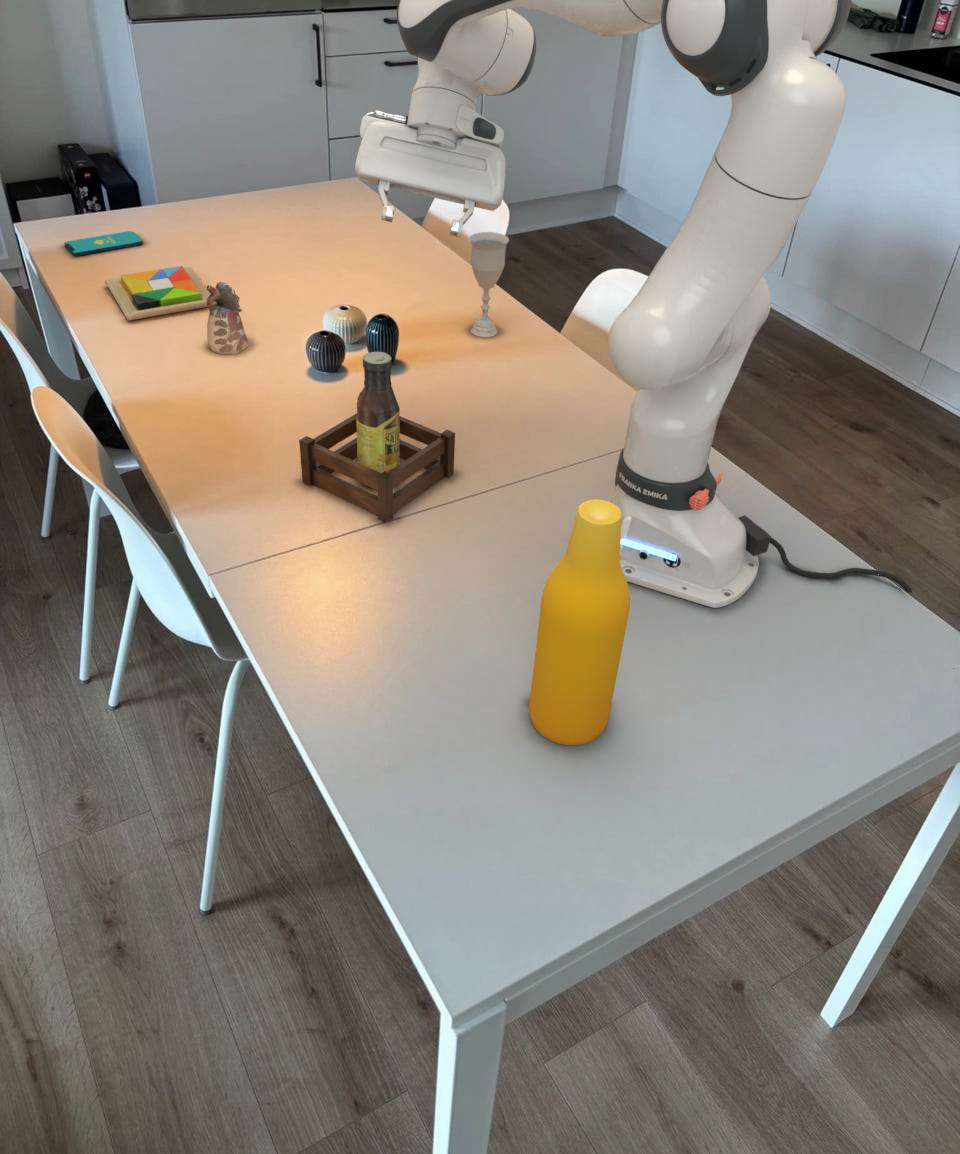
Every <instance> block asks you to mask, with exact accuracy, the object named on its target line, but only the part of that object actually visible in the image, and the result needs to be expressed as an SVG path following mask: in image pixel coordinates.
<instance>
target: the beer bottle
mask: <svg viewBox="0 0 960 1154" xmlns="http://www.w3.org/2000/svg"><path fill="white" fill-rule="evenodd" d="M576 511H577V512H576V515H575V519H574V522H573V526H572V529H571V534H570V537H569V540H568V545H567V547H566V551H565V554H564V556H563V557H562V558H561V559H560V560H559V561H558V563H557V564H556V565H555V567H554V568H553V569H552V571H551V572H550V574H549V576H548V577H547V580H546V582H545V584H544V587H543V589H542V595H541V599H540V608H539V618H538V626H537V633H536V634H537V636H536V644H535V652H534V661H533V669H532V678H531V686H530V693H529V697H528V698H529V700H528V714H529V719H530V722H531V723H532V725H533V727H534V728H535V730H536V731H537V732H538V733H539V734H540V735H541V736H542V737H544V738H546V739H547V740H549V741H551V742H553V743H556V744H558V745H564V746H580V745H584V744H585V745H586V744H587V743H590V742H592V741H594V740H596V739H597V738H598V737H600V736H601V735H602V733H603V732H604V731H605V729H606V728H607V725H608V722H609V720H610V717H611V711H612V701H613V698H614V693H615V687H616V682H617V676H618V672H619V666H620V661H621V656H622V652H623V651H622V650H623V647H624V641H625V635H626V630H627V625H628V620H629V616H630V611H631V610H630V609H631V595H630V588H629V584H628V581H627V580H626V578H625V575H624V573H623V570H622V568H621V565H620V538H621V511H620V509H619V508H618V507H617V506H616V505H615V504H613V503H612V501H608V500H605V499H599V498H598V499H596V498H595V499H588V500H586V501H582V503H581V504H579V506H578V508H577V510H576Z"/></svg>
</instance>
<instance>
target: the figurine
mask: <svg viewBox="0 0 960 1154" xmlns="http://www.w3.org/2000/svg"><path fill="white" fill-rule="evenodd" d="M205 287H206V290H208V291H209V292H210V293H211V294H210V295H209V296H208V298H207V307H206V308H207V311H208V317H207V325H206V329H207V330H206V337H207V344H208V347H209V349H210V350H211V351H212V352H213V353H216V354H219V355H237V354H240V353H242V352H243V351H245V350H246V348H248V347H249V345H250V344H249V340H248V336H247V333H246V330H245V327H244V324H243V321H242V317H241V315H240V313H241V312H243V308H242V307H241V306H240V303H239V302H240V299H241V298H240V297H239V296H238V295H237V294H236V291H235V289H234V288H233V287H232V286H231V285H229V284H228V283H226V282H224V281H219V282H217V283H216V285H215V287H214V286H213V285H211V284H207V285H205ZM214 301H216V304H215V305H214V306H211V303H212V302H214Z"/></svg>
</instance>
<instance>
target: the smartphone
mask: <svg viewBox="0 0 960 1154" xmlns="http://www.w3.org/2000/svg"><path fill="white" fill-rule="evenodd" d="M143 244H144V242H143V239H141V237H139V236H138V235H137V234H136V233H135V232H134V231H132V230H126V231H120V232H115V233H110V234H104V235H97V236H91V237H85V238H80V239H79V238H78V239H74V240H73V239H72V240H68V241H65V242H64V247H66V249H67V250H68V251H69V252H70V254H71V255H73V256H77V257H78V256H84V255H89V254H96V253H101V252H106V251H113V250H119V249H123V248H124V249H125V248H129V247H135V246H141V245H143Z"/></svg>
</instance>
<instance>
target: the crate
mask: <svg viewBox="0 0 960 1154" xmlns="http://www.w3.org/2000/svg"><path fill="white" fill-rule="evenodd" d="M356 417H357V412H356V413H354V414H352V415H351V416H349V417H348V418H346V419H344V420H343V421H341V422H339V423H338V424H335V425H334V426H333V427H331V428H329V429H328V430H326V431H324V432H322V433H321V434H319V435H318V436H316V437H314V438H313V437H311V436H308V435H305V436H304V437H302V438H300V439H299V440H298V442H299V454H300V469H301V479H302V480H301V481H302V484H304V485H306V486H309V487H312V486H315V487H317V488H318V489H321V490H324V491H325V492H328V493H329V494H331V495H334V496H336V497H337V498H340V499H342V500H343V501H346V502H348V503H351V504H353V505H355V506H357V507H359V508H361V509H363V510H365V511H367V512H369V513H371V514H373V515H375V516H377V519H378V520H379V521H382V522H384V523H385V524H387V523H389V522H390V521H391V520H393V519H394V515H395V514H396V513H397V512H398V511H400V510H401V509H403V508H404V507H405V506H407V505H408V504H409V503H412V502H413V501H414V500H416V498H419V496H421V495H422V494H424V493H425V492H426V491H428V490H429V489H431V488H432V487H434V486H435V485H436V484H438V483H439V482H441V481H442V480H443V479H444V478H445V479H449V478H450V477H451V478H452V476H453V475H454V473H455V452H456V451H455V450H456V447H455V446H456V433H455V432H454V431H451V430H449V429H445V430H443V431H442V432H440V431H437V430H435V429H433V428H430V427H429V426H425V425H423V424H421V423H418V422H415V421H413V420H411V419H408V418H406V417H404V416H401V415H400V435H402V436H405V437H408V438H410V439H412V440H415V441H416V442H419V443H421V444H424V445H426V446H425V447H424V448H421V447H418V446H416V445H414V444H412V443H409V442H406V441H404V440H402V439H400V456H399V459H402V460H404V461H403V462H401V463H399V465H398V466H397V467H395V468H394V469H392V470H391V471H389V472H388V473H387V472H385V471H384V472H382V473H379V472H377V471H375V470H373V469H371V468H368V467H366V466H364V465H362V464H360V463H358V461H355V460H354V459H357V437H355V438H354V439H352V440H350V441H349V442H346V443H345V444H344V445H342V446H341V447H338V448H337V449H335V450H331V448H333V447H335V446H336V445H338V444H339V443H341V442H342V441H344V440H346V439H348V438H350V437H351V436H353V435H355V434H357V420H356ZM422 469H425V471H424V472H422V473H421V474H419V475H418V476H416V477H415V478H413V479H412V480H410V481H409V482H407V483H406V484H405V485H403V486H402V487H400V488H399V489H398V490H396V491H395V492H394V489H395V488H396V487H398V486H400V485H401V484H403V483H404V482H406V481H407V480H408V479H410V478H411V477H412V476H414V475H415V474H417V473H418V472H419V471H422ZM335 472H336V473H339V474H341V475H343V476H345V477H348V478H349V479H352V480H353V481H355V482H358V483H360V484H362V485H364V484H365V485H364V486H366V485H367V486H366V487H368V486H369V487H368V488H371V489H373V490H375V491H377V495H376V494H374V493H372V492H370V491H368V490H366V489H363V488H361V487H359V486H357V485H355V484H353V483H351V482H349V481H347V480H344V479H342V478H340V477H338V476H336V475H334V474H332V473H335Z"/></svg>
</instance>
